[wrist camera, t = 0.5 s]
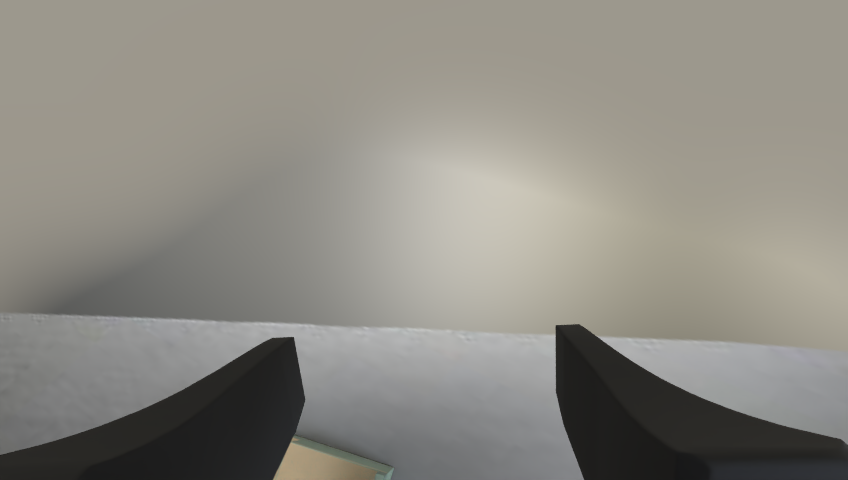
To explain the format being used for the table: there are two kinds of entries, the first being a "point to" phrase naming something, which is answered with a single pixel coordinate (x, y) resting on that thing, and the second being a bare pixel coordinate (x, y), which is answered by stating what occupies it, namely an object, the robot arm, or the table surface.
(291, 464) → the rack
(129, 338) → the table surface
